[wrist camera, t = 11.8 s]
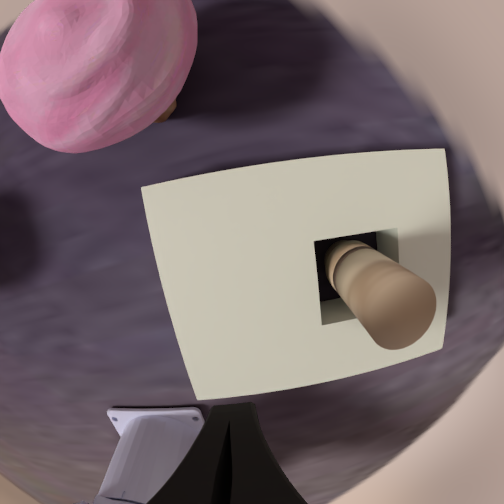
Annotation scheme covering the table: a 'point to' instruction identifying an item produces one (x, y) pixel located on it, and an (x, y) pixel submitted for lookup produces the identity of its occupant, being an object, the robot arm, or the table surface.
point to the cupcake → (95, 68)
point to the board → (292, 264)
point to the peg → (381, 293)
